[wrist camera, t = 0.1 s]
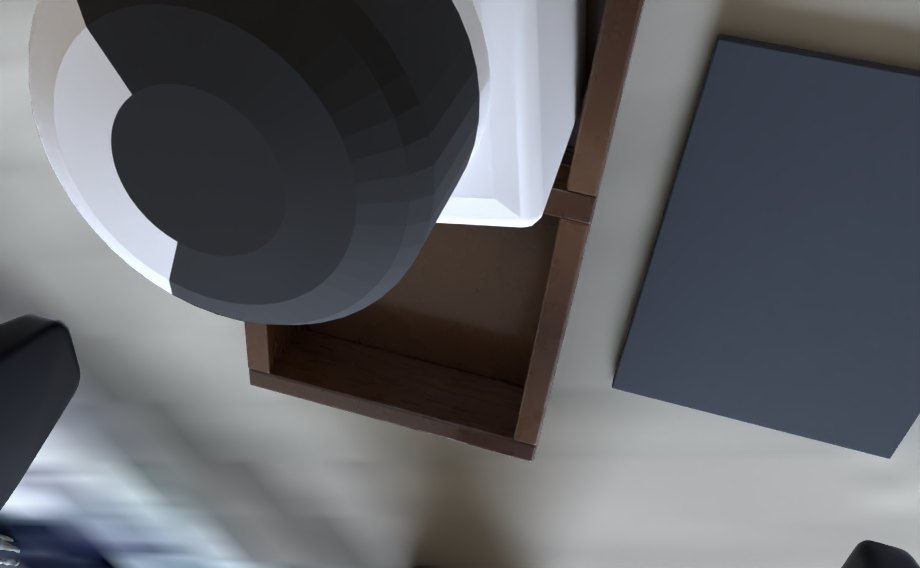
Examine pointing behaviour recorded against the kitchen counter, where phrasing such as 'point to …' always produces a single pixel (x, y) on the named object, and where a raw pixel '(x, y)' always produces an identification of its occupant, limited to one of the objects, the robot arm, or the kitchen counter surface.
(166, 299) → the kitchen counter surface
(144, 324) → the kitchen counter surface
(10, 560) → the plush elephant
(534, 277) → the holder
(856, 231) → the mat
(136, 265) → the medicine bottle
